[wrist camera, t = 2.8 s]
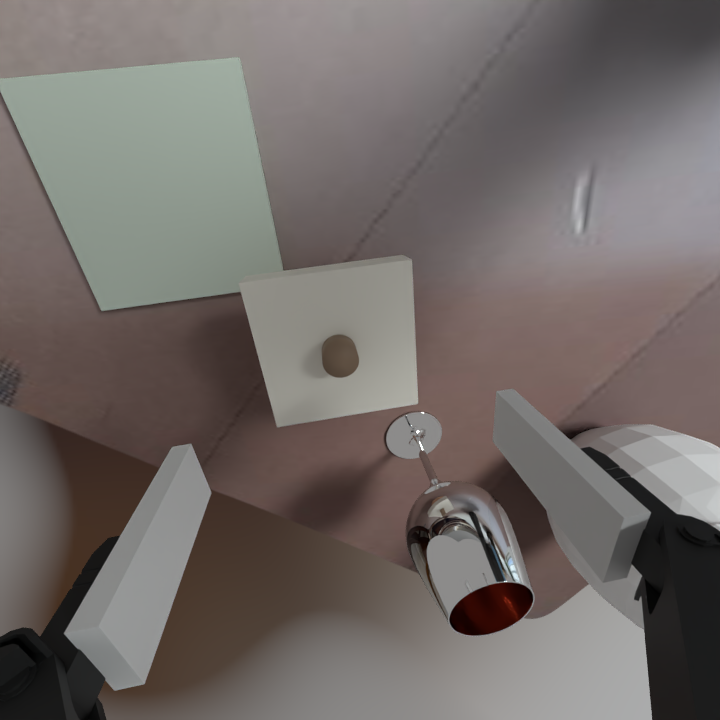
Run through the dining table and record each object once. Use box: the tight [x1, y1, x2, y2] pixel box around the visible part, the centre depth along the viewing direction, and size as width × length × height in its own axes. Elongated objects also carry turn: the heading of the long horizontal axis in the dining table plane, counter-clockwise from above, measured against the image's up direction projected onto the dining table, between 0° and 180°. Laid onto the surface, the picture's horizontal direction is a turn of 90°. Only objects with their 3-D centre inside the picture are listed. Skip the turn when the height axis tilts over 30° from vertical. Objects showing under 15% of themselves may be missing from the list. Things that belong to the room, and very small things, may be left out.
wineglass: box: [386, 411, 534, 636], centre depth 29 cm, size 8×8×18 cm
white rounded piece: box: [547, 424, 720, 629], centre depth 31 cm, size 19×18×25 cm
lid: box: [239, 255, 418, 427], centre depth 24 cm, size 11×11×4 cm
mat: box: [0, 57, 284, 311], centre depth 25 cm, size 15×15×1 cm
